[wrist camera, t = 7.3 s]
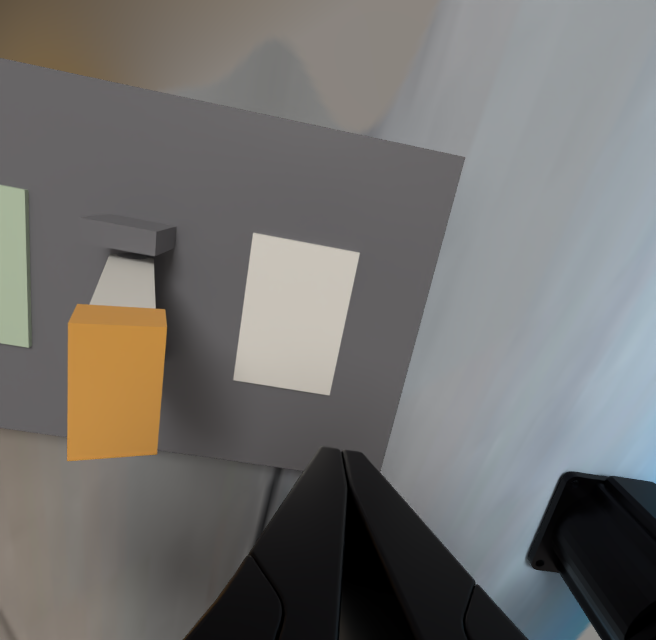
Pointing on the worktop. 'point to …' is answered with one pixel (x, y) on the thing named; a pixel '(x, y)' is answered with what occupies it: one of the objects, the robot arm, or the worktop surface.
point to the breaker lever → (116, 364)
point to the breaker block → (217, 261)
